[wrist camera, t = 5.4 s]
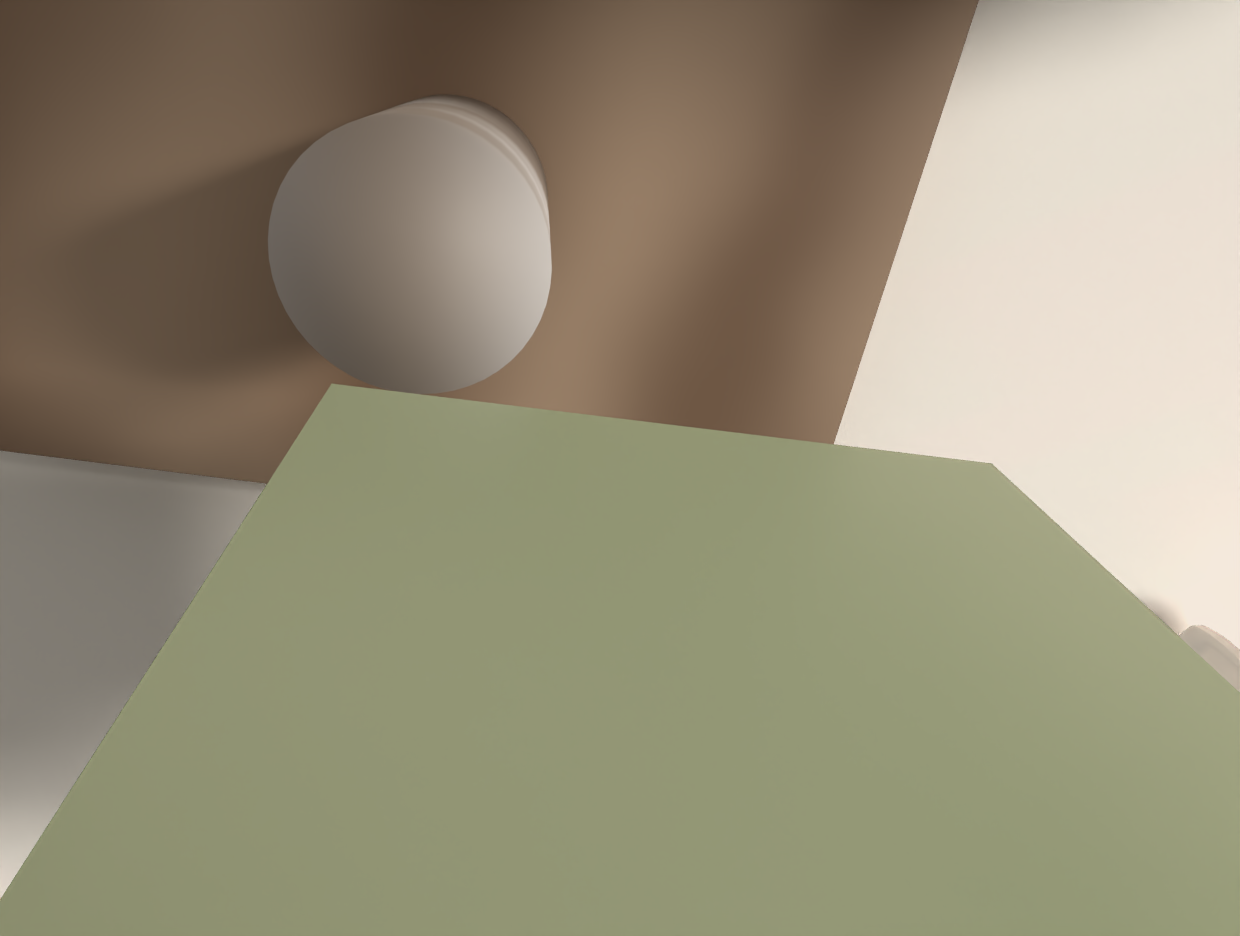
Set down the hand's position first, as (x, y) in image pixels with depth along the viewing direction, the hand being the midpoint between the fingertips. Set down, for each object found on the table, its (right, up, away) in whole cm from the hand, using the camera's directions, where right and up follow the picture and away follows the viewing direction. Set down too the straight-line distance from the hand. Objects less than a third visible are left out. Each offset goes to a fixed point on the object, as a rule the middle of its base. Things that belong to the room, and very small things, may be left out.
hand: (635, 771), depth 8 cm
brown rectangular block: (-3, +8, +8) cm, 12 cm away
